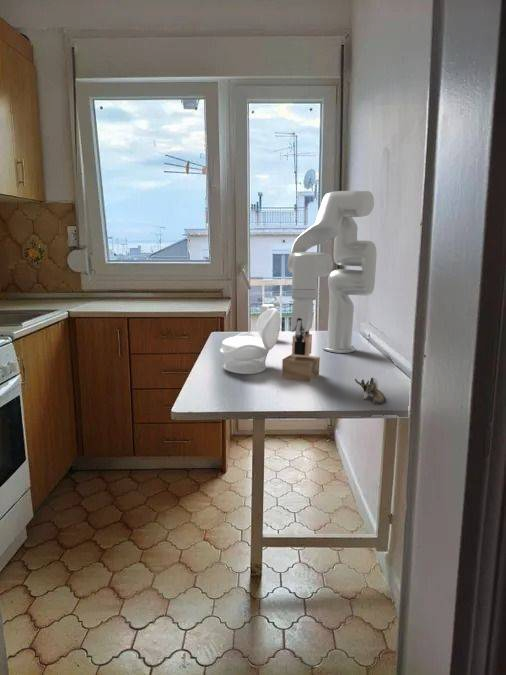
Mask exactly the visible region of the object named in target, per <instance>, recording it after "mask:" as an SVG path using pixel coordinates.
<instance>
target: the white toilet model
mask: <svg viewBox="0 0 506 675" xmlns="http://www.w3.org/2000/svg"><path fill="white" fill-rule="evenodd" d="M267 312H268V314H267ZM270 312H271V313H270ZM265 314H266V315H265ZM270 314H271V315H270ZM280 314H281V313H280V312H279V310H278V309H277V308H276V309H275V308H271V309H268V310H266V311H265V312H263V313H262V314H261V315H260V314H259V317H258V318H257V320H256V330H257V332H258V335H259V337H258V336H256V335H255V334H253V333H252V332H251V333H250V332H247V331H244V332H240V333H238V334H236V335H235V336H230V337H226V338H225V339H224V340H222V342H221V348H220V349H219V351H220V354H221V355H222V358H223V361H224V364H223V369H224V370H226V371H228V372H229V373H230V372H231V373H234V374H242V375H250V374H251V375H252V374H258V373H262V372H264V371H265V370H266V369H267V366H266V364H267V363H266V362H267V361H266V360H267V358H268V354H269V352H270V351H271V350H272V349H273V348H274V347H275V346H276V344H277V341H278V340H279V335H280V329H281V328H280V327H281V323H282V322H281V320H282V319H281V315H280ZM264 315H265V316H264ZM268 315H269V316H268ZM266 316H267V317H266ZM265 318H266V319H268V320H266V319H265ZM264 319H265V320H264ZM262 321H263V323H262ZM266 321H267V322H266ZM270 321H271V322H270ZM264 322H265V323H264ZM260 337H261V338H260ZM270 338H271V339H270Z"/></svg>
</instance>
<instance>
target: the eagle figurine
mask: <svg viewBox="0 0 506 675" xmlns="http://www.w3.org/2000/svg"><path fill="white" fill-rule="evenodd" d="M354 381H355V383H356V384H358V385H359V386H360V387H362V389H363V392H364V394H363V397H362V400H365V399H367V398H368V397H369V395H372V397H373V404H374V405H377V406H384V404H386V403H387V398H386V395H384V393H383V392H382V390H381V391H380V390H379V381H378V379H377V378H375V377H370V381H369V380H367V381H366V383H365V380H364V378H363V379H362V380H361V382H360V381H359V380H357V379H356V378H354Z"/></svg>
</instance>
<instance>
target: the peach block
mask: <svg viewBox="0 0 506 675" xmlns="http://www.w3.org/2000/svg"><path fill="white" fill-rule="evenodd" d="M301 335H302V336H303V334H301ZM312 341H313V334H310V333H309V334H305V341H304V342H305V354H304V355H298V354H295V353H294V351H295V334H294V335H293V336H292V344H291V346H292V347H291V348H292V349H291V355H296V356H306V357H308V356H311V354H312V348H313V347H312V346H313V342H312Z"/></svg>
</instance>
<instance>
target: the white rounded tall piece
mask: <svg viewBox="0 0 506 675" xmlns="http://www.w3.org/2000/svg"><path fill="white" fill-rule="evenodd" d="M271 308H275V309H277V306H276V304H273V303H271V304H269V303H263V304H260V308H259V316H260V315H261V314H262V313H263V312H265V311H266V310H268V309H271ZM270 313H271V312H270ZM267 314H268V312H267ZM265 315H266V314H265ZM265 315H264V316H265ZM270 315H271V314H270ZM268 316H269V315H268ZM266 317H267V316H266ZM265 319H266V318H265ZM265 319H264V320H265ZM266 320H268V319H266ZM266 322H267V321H266ZM270 322H271V321H270ZM262 323H263V321H262ZM264 323H265V322H264ZM259 338H261V337H260V336H259ZM270 339H271V338H270Z"/></svg>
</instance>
